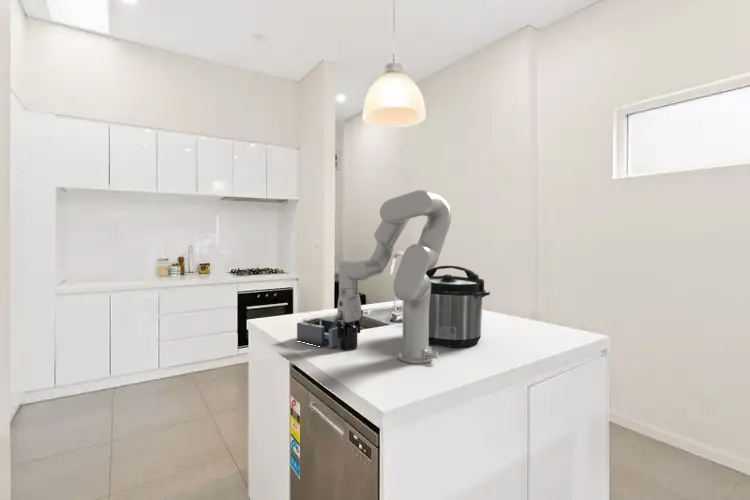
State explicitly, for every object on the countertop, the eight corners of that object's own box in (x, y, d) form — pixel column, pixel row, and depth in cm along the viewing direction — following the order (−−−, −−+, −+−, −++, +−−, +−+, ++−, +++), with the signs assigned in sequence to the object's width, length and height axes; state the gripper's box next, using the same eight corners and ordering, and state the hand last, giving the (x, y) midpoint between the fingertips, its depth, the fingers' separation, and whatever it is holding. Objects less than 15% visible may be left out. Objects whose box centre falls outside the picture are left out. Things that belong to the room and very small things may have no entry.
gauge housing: (341, 341, 163) (341, 321, 163) (322, 347, 154) (321, 326, 153) (317, 336, 171) (317, 317, 171) (297, 342, 162) (297, 322, 161)
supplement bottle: (336, 349, 152) (336, 318, 152) (346, 344, 158) (346, 315, 158) (351, 351, 149) (351, 320, 148) (360, 347, 155) (360, 317, 154)
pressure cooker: (499, 341, 164) (500, 266, 162) (456, 354, 146) (457, 270, 144) (444, 328, 187) (445, 262, 186) (401, 337, 169) (401, 265, 168)
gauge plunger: (348, 342, 160) (348, 321, 160) (328, 349, 150) (328, 326, 150) (324, 337, 167) (324, 317, 167) (304, 343, 158) (304, 322, 157)
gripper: (341, 295, 143) (342, 341, 144) (369, 290, 158) (369, 332, 158) (326, 294, 148) (327, 338, 148) (354, 288, 162) (355, 329, 162)
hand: (349, 335), depth 153 cm, fingers open, 9 cm apart
